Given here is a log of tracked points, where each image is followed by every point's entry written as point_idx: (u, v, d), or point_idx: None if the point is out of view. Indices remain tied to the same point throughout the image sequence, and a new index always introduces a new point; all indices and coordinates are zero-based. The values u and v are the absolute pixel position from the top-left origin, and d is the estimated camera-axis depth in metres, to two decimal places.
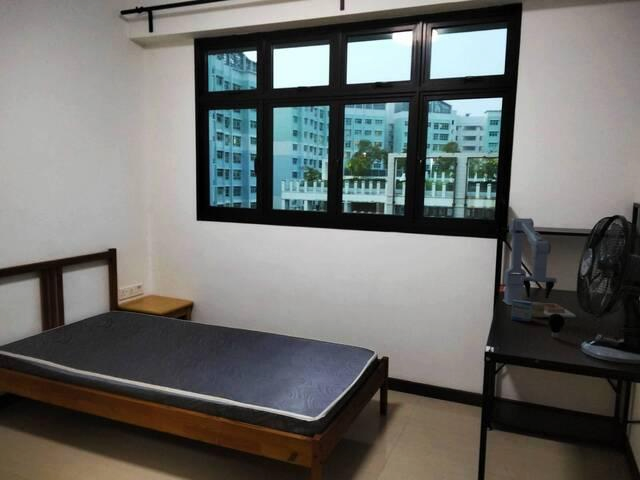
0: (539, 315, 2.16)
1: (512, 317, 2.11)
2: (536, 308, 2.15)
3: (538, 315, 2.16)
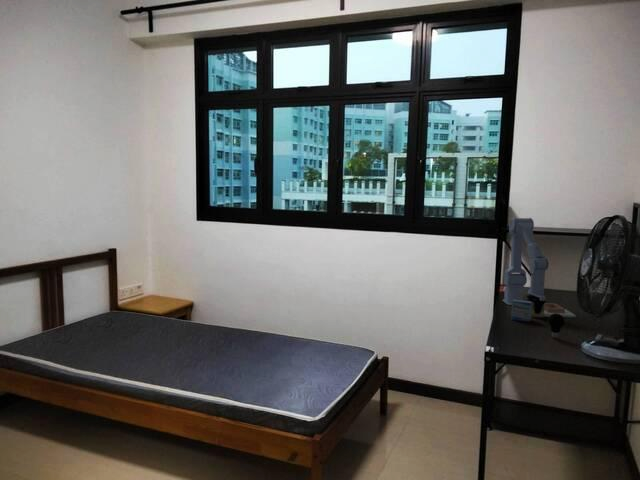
0: (539, 315, 2.16)
1: (512, 317, 2.11)
2: None
3: (538, 315, 2.16)
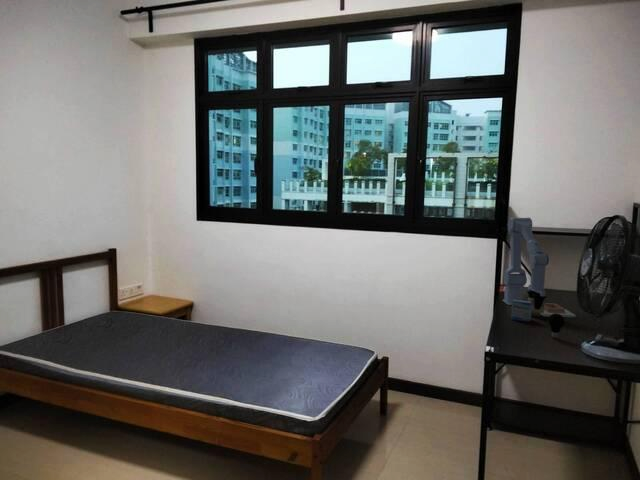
0: (539, 311, 2.16)
1: (512, 317, 2.11)
2: None
3: (538, 311, 2.16)
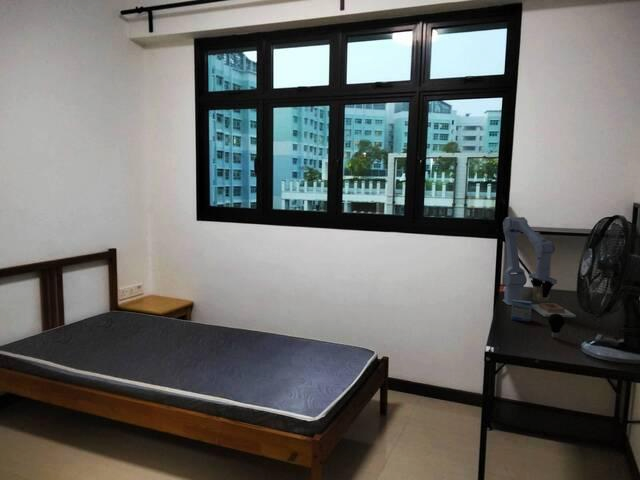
0: (546, 298, 2.18)
1: (512, 317, 2.11)
2: None
3: (545, 298, 2.18)
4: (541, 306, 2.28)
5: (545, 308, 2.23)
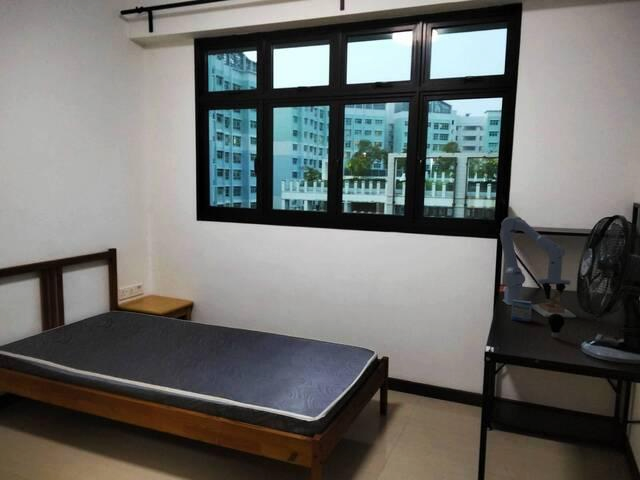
0: None
1: (512, 317, 2.11)
2: None
3: None
4: (541, 306, 2.28)
5: (545, 308, 2.23)
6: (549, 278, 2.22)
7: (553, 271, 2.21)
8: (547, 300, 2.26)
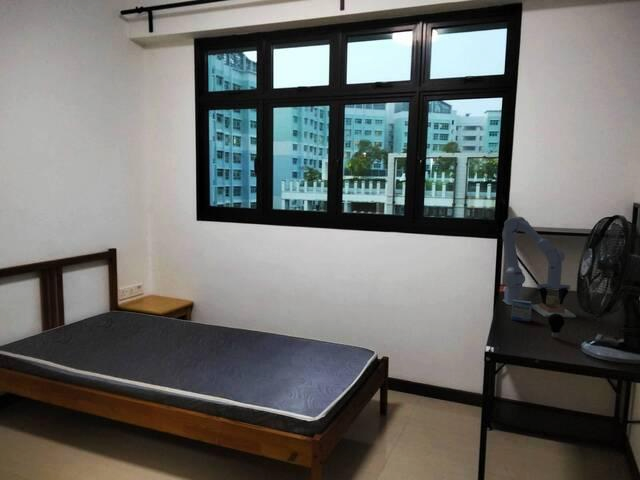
0: None
1: (512, 317, 2.11)
2: None
3: None
4: (541, 306, 2.28)
5: (545, 308, 2.23)
6: (549, 283, 2.23)
7: (553, 276, 2.21)
8: None
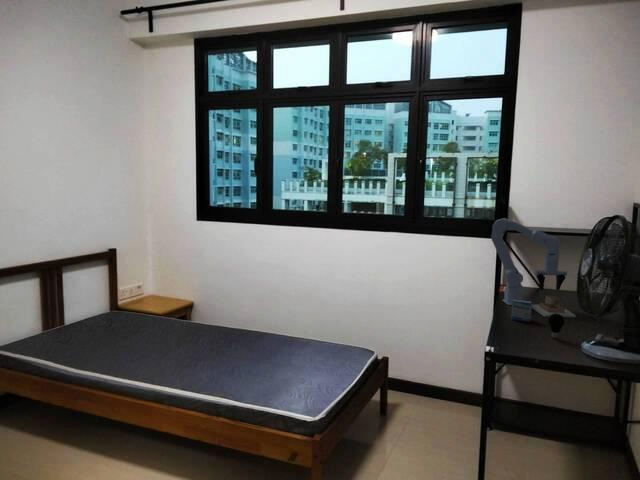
0: None
1: (512, 317, 2.11)
2: None
3: None
4: (541, 306, 2.28)
5: (545, 308, 2.23)
6: (546, 269, 2.28)
7: (552, 262, 2.26)
8: None
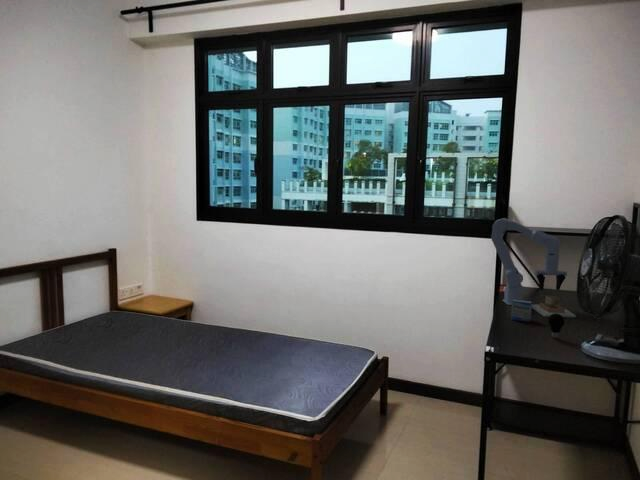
0: None
1: (512, 317, 2.11)
2: None
3: None
4: (541, 306, 2.28)
5: (545, 308, 2.23)
6: (546, 269, 2.28)
7: (552, 262, 2.26)
8: None
